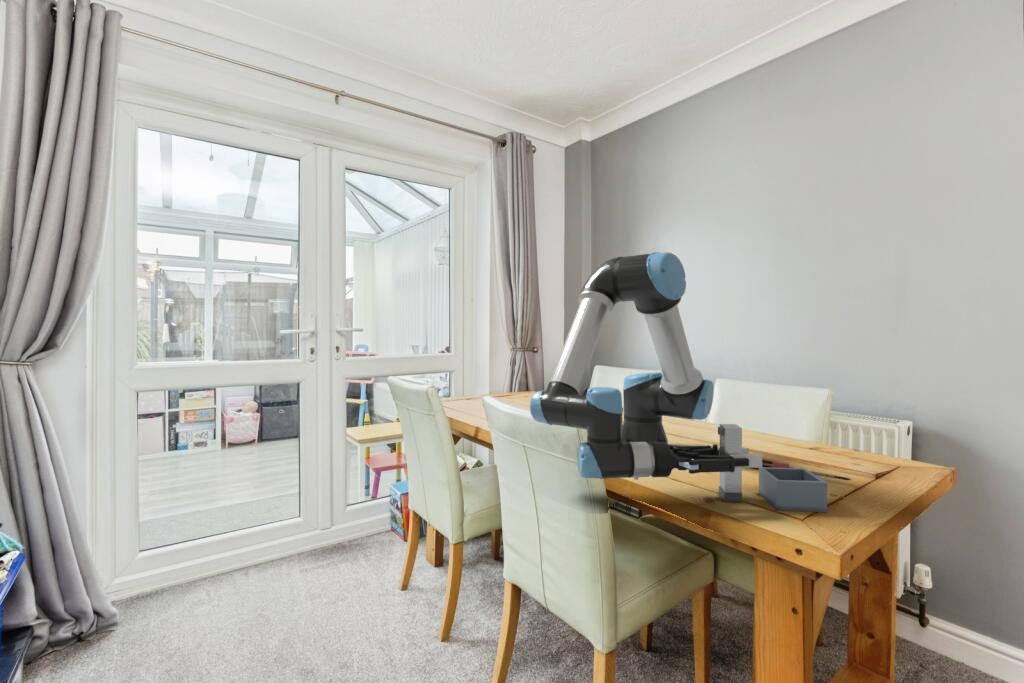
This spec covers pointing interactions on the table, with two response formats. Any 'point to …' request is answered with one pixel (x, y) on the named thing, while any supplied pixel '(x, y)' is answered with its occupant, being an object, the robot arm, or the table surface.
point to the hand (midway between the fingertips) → (754, 457)
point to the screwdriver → (784, 465)
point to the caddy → (793, 489)
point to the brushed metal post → (733, 481)
